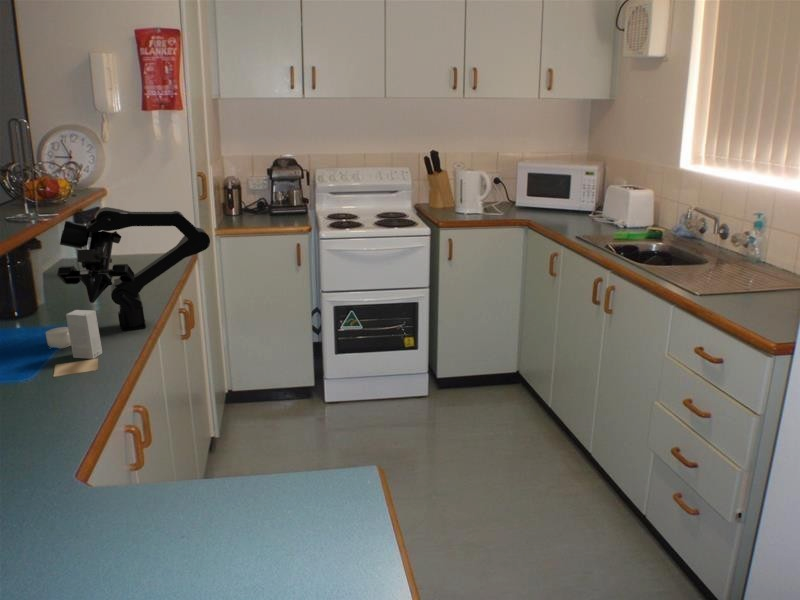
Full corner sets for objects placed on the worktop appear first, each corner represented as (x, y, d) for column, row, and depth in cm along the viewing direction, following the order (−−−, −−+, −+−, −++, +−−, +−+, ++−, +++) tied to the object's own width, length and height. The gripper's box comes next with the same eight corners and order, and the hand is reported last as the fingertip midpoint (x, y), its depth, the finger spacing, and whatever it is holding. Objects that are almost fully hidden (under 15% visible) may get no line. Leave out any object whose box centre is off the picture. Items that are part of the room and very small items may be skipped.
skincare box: (103, 353, 184) (96, 310, 180) (93, 359, 180) (86, 315, 176) (82, 352, 185) (75, 309, 181) (72, 358, 181) (64, 314, 177)
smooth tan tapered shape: (98, 360, 180) (98, 358, 180) (98, 372, 173) (97, 369, 173) (55, 366, 177) (55, 364, 177) (53, 378, 170) (53, 376, 170)
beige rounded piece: (74, 339, 195) (72, 325, 193) (73, 347, 189) (71, 333, 188) (49, 342, 192) (46, 329, 191) (47, 350, 187) (44, 336, 185)
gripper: (53, 237, 185) (42, 289, 178) (124, 234, 185) (116, 286, 178) (70, 258, 195) (60, 308, 188) (138, 256, 195) (130, 305, 188)
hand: (91, 302), depth 185 cm, fingers closed
